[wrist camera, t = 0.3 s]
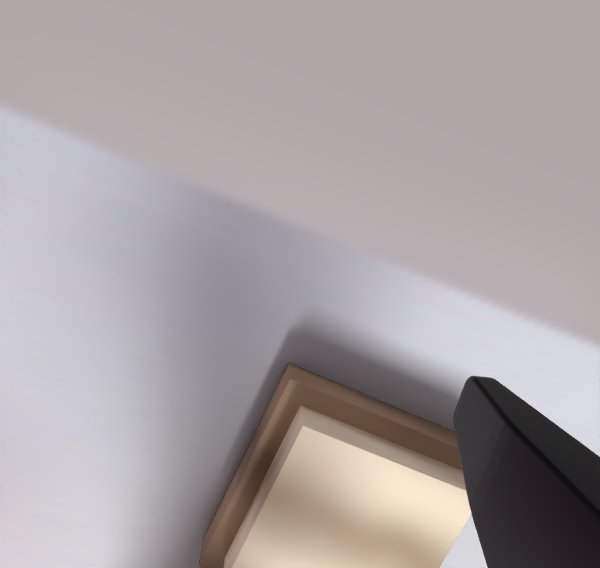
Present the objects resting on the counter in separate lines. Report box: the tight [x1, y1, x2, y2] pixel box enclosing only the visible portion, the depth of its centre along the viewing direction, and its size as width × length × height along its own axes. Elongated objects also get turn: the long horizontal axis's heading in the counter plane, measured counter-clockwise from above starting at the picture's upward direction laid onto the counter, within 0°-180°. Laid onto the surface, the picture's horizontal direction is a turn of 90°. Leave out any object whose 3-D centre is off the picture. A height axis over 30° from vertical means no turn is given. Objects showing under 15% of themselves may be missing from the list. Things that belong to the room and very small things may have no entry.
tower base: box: [199, 363, 471, 568], centre depth 26 cm, size 11×11×4 cm
